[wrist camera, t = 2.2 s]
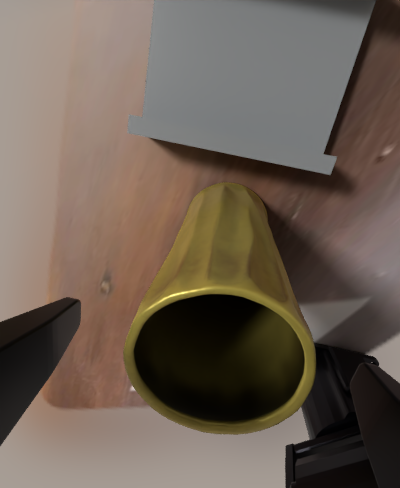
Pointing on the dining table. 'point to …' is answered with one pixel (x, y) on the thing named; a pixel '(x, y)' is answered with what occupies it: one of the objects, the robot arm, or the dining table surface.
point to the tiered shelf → (251, 76)
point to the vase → (222, 323)
